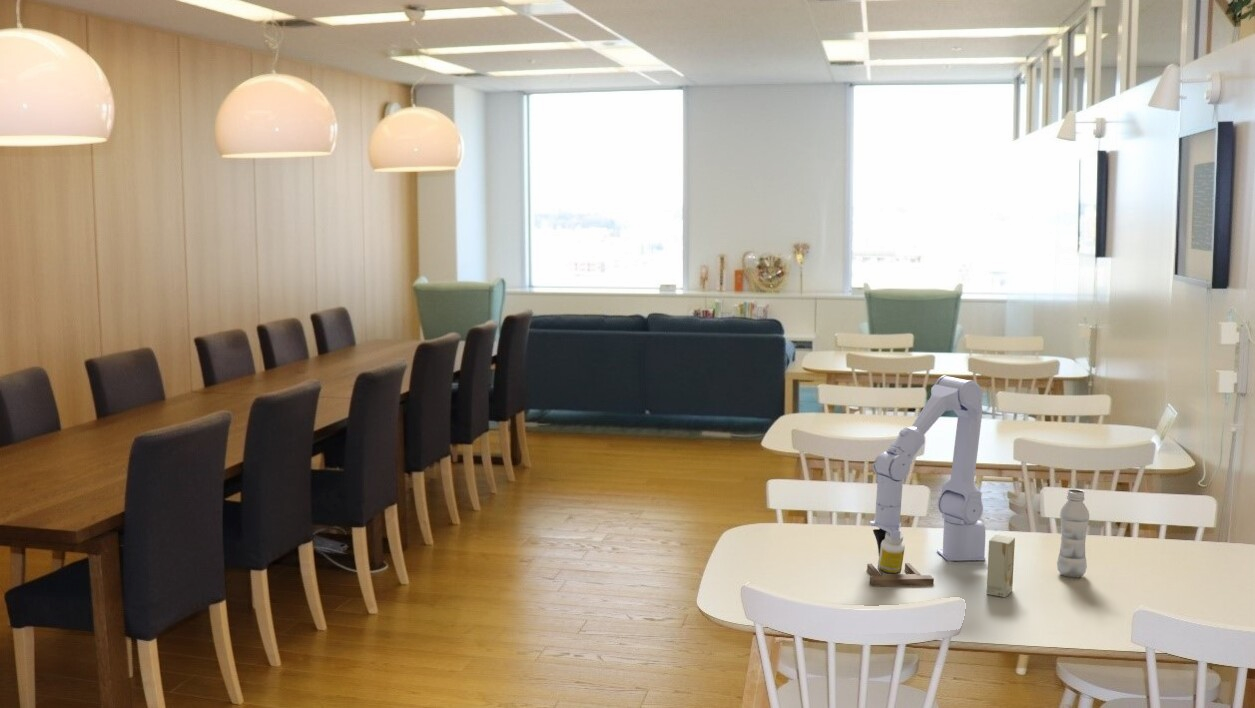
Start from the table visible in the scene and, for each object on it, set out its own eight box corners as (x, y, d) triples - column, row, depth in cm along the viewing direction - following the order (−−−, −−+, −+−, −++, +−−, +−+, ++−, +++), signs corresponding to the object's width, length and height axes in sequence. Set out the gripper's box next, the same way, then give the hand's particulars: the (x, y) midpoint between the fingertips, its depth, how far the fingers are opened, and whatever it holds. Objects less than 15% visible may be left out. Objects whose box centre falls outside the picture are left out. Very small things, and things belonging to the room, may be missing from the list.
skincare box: (1005, 598, 254) (1008, 543, 253) (985, 594, 257) (988, 540, 255) (1013, 590, 260) (1015, 536, 258) (993, 586, 262) (996, 533, 260)
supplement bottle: (904, 576, 269) (909, 540, 265) (881, 577, 269) (886, 541, 265) (896, 563, 274) (901, 527, 270) (874, 564, 274) (879, 528, 270)
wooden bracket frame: (917, 569, 274) (917, 562, 274) (933, 585, 263) (933, 578, 263) (858, 570, 273) (858, 563, 273) (872, 586, 262) (872, 579, 262)
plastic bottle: (1087, 573, 271) (1092, 489, 269) (1085, 582, 265) (1090, 496, 263) (1057, 569, 274) (1062, 486, 271) (1055, 578, 268) (1059, 493, 265)
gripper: (863, 495, 278) (859, 551, 280) (880, 512, 264) (876, 570, 266) (892, 496, 279) (888, 551, 281) (910, 512, 265) (906, 570, 266)
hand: (884, 560), depth 273 cm, fingers closed, pressing on supplement bottle
